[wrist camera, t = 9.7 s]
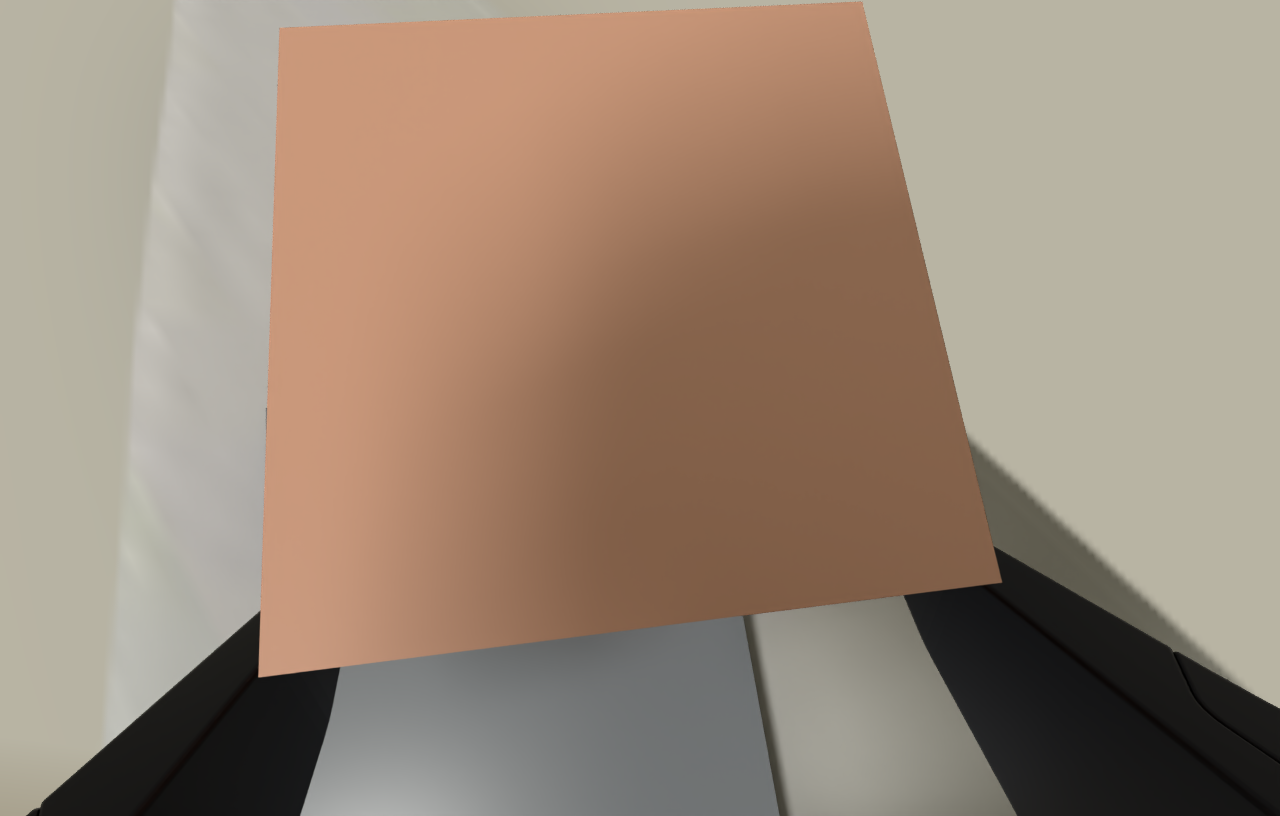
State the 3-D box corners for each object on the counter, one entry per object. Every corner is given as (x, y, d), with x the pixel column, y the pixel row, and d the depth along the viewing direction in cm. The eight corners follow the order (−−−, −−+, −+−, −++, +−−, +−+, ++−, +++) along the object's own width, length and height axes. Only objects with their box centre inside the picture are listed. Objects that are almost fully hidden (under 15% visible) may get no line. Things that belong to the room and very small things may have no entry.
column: (708, 545, 16) (1002, 581, 4) (528, 567, 15) (258, 677, 4) (685, 375, 17) (862, 0, 5) (517, 390, 16) (279, 27, 5)
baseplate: (788, 889, 14) (797, 907, 14) (287, 999, 13) (270, 1024, 13) (691, 357, 18) (694, 350, 17) (278, 412, 16) (264, 407, 16)
